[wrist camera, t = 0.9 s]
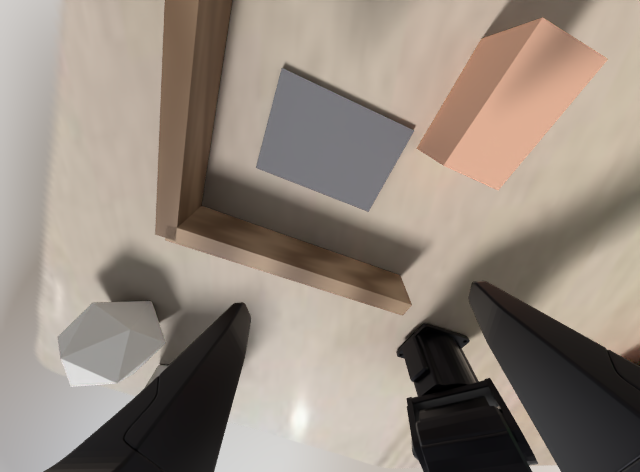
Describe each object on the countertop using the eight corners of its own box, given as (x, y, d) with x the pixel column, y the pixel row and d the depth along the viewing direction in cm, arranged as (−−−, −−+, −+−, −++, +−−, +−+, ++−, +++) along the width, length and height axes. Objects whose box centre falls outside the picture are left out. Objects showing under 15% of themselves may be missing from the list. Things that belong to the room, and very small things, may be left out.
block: (530, 68, 15) (607, 59, 11) (459, 168, 19) (498, 190, 15) (480, 38, 15) (542, 17, 11) (416, 148, 18) (443, 165, 14)
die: (102, 270, 26) (7, 355, 22) (145, 302, 23) (41, 412, 18) (155, 299, 33) (90, 370, 28) (195, 328, 29) (127, 414, 25)
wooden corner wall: (585, 32, 14) (665, 13, 11) (392, 285, 25) (402, 315, 22) (226, -201, 11) (178, -338, 7) (182, 213, 22) (155, 236, 18)
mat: (413, 129, 17) (414, 130, 17) (367, 210, 21) (368, 211, 21) (282, 68, 16) (281, 67, 15) (256, 166, 19) (255, 167, 19)
